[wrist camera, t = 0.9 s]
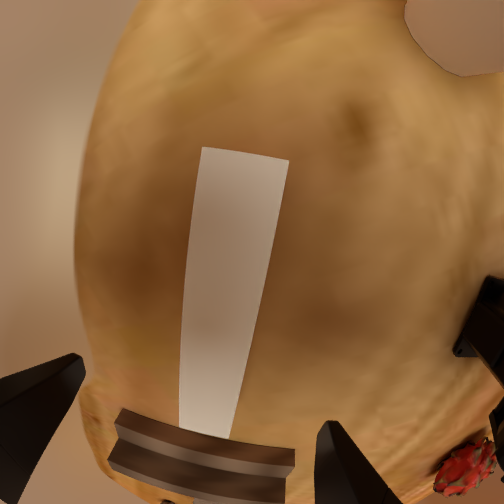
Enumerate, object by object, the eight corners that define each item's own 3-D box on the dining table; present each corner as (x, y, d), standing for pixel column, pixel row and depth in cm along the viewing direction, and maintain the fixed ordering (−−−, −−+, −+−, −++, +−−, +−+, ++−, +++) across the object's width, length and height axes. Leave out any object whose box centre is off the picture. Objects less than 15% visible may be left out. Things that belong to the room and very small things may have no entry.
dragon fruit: (488, 412, 20) (430, 456, 25) (477, 444, 15) (406, 486, 20) (513, 446, 13) (453, 486, 19) (504, 482, 9) (431, 519, 14)
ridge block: (294, 449, 19) (294, 494, 14) (272, 480, 22) (270, 515, 17) (122, 408, 20) (100, 446, 15) (132, 446, 22) (117, 478, 17)
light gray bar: (285, 163, 13) (289, 160, 9) (236, 397, 18) (228, 438, 14) (222, 153, 13) (202, 146, 9) (193, 387, 18) (179, 427, 14)
